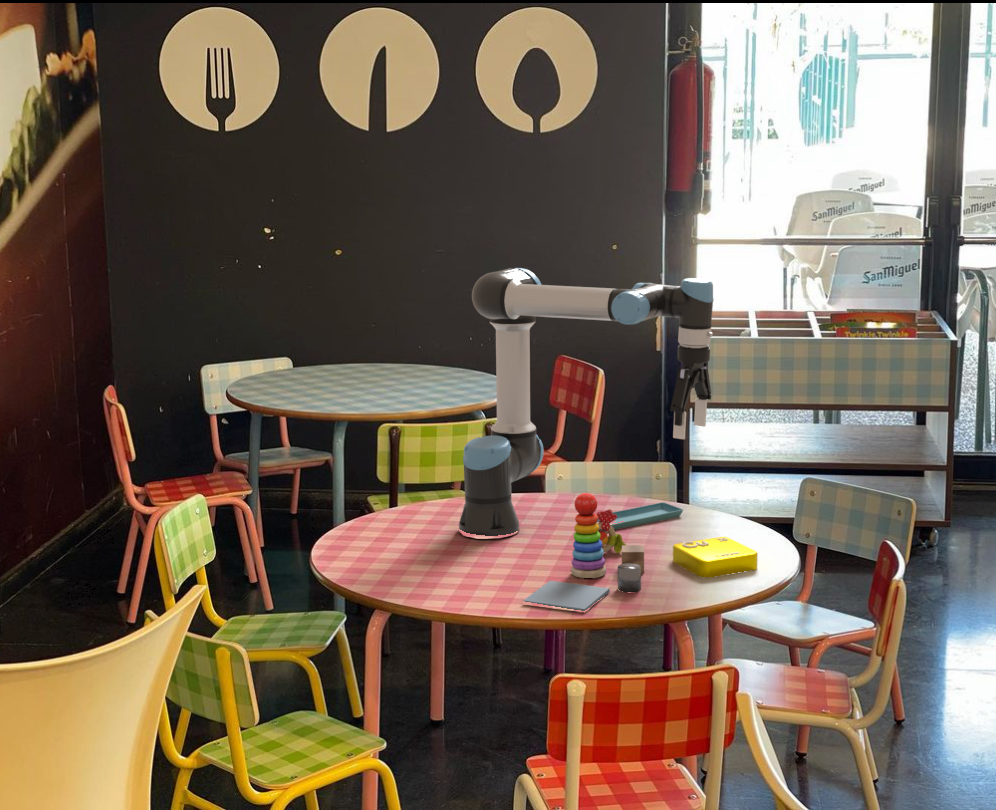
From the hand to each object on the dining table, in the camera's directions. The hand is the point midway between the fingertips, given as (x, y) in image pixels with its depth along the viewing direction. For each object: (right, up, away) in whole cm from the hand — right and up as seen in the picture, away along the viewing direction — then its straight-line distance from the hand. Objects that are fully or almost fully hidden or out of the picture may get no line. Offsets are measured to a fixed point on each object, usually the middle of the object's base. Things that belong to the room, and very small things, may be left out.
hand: (689, 431), depth 319 cm
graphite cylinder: (-17, -34, -29) cm, 48 cm away
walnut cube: (-15, -31, -16) cm, 38 cm away
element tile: (+4, -31, -14) cm, 34 cm away
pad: (-31, -35, -35) cm, 58 cm away
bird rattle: (-20, -29, -4) cm, 35 cm away
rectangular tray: (-11, -24, +22) cm, 35 cm away
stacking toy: (-25, -32, -19) cm, 45 cm away
